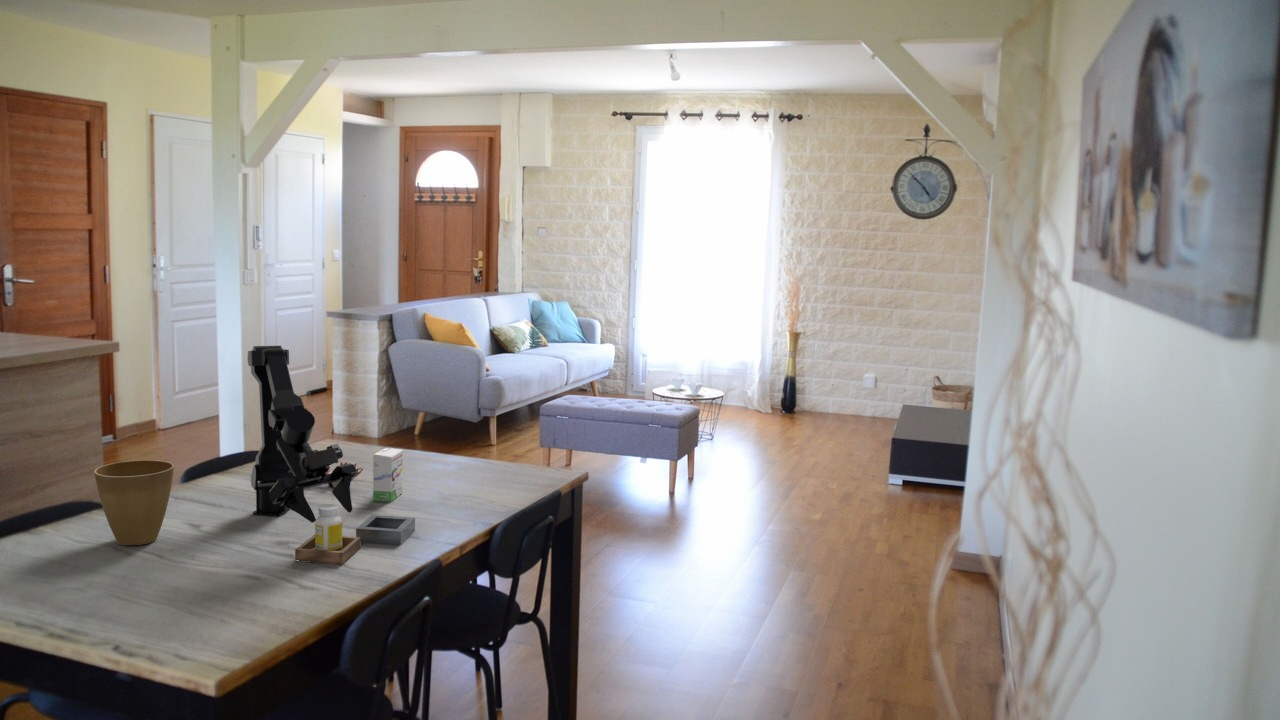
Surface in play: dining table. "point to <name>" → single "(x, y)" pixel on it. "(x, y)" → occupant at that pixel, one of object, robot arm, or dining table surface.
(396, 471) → the ink box
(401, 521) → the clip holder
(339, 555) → the walnut tray
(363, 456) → the dining table surface
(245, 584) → the dining table surface
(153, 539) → the plant pot
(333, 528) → the supplement bottle
